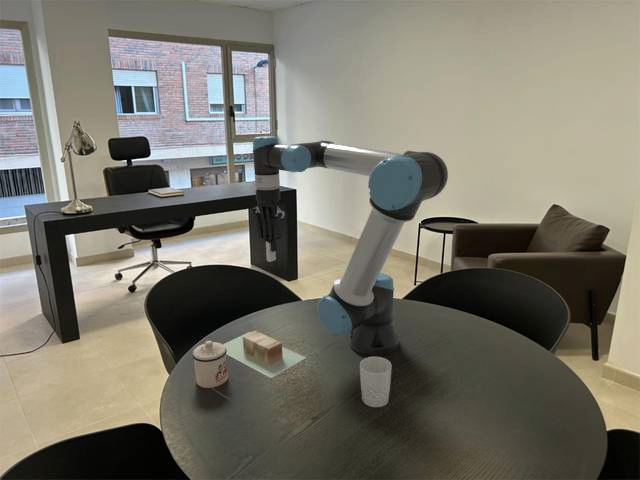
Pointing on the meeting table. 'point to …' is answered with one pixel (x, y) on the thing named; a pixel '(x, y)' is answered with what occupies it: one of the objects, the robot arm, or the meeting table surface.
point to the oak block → (262, 347)
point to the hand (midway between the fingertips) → (271, 260)
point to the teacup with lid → (210, 364)
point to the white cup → (375, 381)
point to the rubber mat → (272, 370)
